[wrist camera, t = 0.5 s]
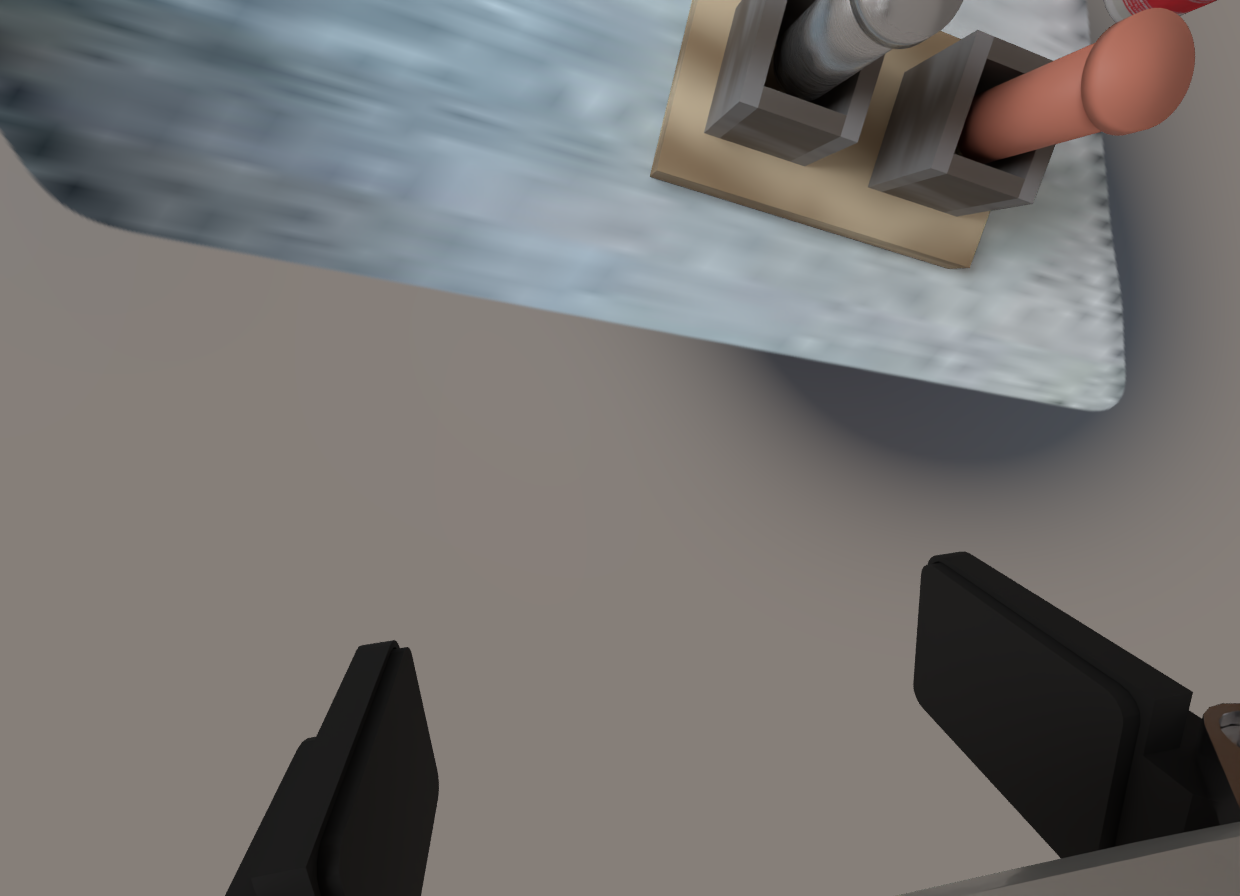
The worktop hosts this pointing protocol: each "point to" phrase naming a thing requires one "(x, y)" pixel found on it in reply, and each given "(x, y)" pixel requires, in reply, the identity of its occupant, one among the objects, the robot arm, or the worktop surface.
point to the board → (843, 134)
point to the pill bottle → (1150, 6)
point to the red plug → (1087, 90)
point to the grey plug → (851, 39)
